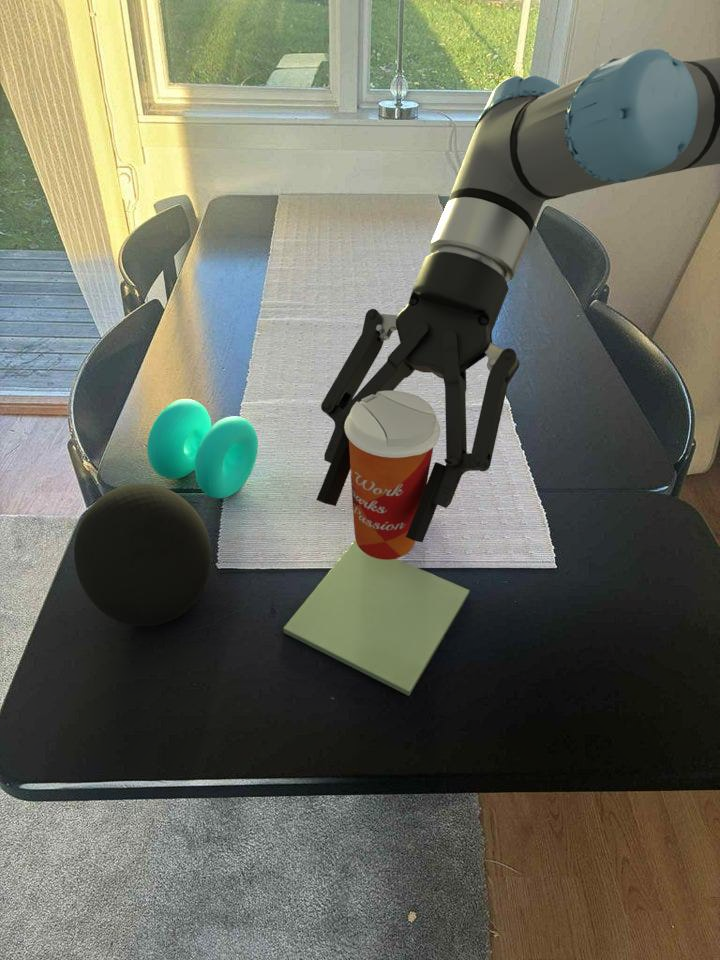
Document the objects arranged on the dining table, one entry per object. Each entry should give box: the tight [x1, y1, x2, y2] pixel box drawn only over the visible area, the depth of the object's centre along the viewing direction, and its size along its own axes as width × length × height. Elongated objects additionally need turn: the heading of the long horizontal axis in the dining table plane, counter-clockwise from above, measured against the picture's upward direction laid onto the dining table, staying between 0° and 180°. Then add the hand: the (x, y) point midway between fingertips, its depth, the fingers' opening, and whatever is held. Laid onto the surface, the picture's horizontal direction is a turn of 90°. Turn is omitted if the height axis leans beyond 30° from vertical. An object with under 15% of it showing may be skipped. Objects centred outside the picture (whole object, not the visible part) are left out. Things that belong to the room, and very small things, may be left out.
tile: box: [282, 540, 470, 697], centre depth 71 cm, size 14×14×1 cm
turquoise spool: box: [146, 398, 259, 499], centre depth 83 cm, size 10×10×10 cm
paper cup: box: [344, 390, 441, 560], centre depth 60 cm, size 8×8×14 cm
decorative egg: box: [73, 483, 212, 627], centre depth 67 cm, size 12×12×15 cm
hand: (369, 520), depth 59 cm, fingers closed on paper cup, 8 cm apart
